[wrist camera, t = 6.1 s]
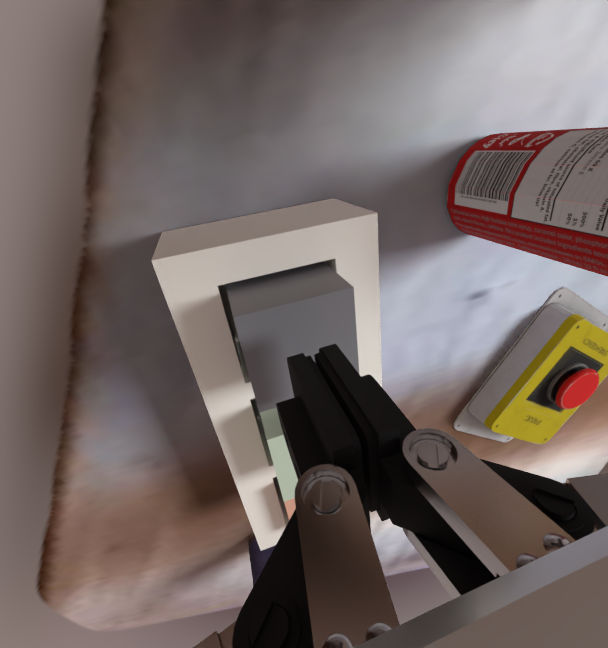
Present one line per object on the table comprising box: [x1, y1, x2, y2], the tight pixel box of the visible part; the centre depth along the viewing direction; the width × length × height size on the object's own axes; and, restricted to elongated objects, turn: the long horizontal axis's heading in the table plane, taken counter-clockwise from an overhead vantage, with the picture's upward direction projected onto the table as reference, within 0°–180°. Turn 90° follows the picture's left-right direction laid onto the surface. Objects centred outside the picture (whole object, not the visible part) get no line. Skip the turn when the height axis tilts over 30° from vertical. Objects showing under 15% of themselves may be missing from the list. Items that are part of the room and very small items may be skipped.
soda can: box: [447, 127, 608, 276], centre depth 15 cm, size 6×6×12 cm
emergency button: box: [454, 287, 608, 444], centre depth 29 cm, size 9×4×15 cm
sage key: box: [260, 407, 298, 502], centre depth 17 cm, size 4×4×4 cm
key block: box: [151, 198, 382, 551], centre depth 20 cm, size 20×9×5 cm, turn 8°
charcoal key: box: [225, 261, 359, 413], centre depth 14 cm, size 4×4×4 cm
